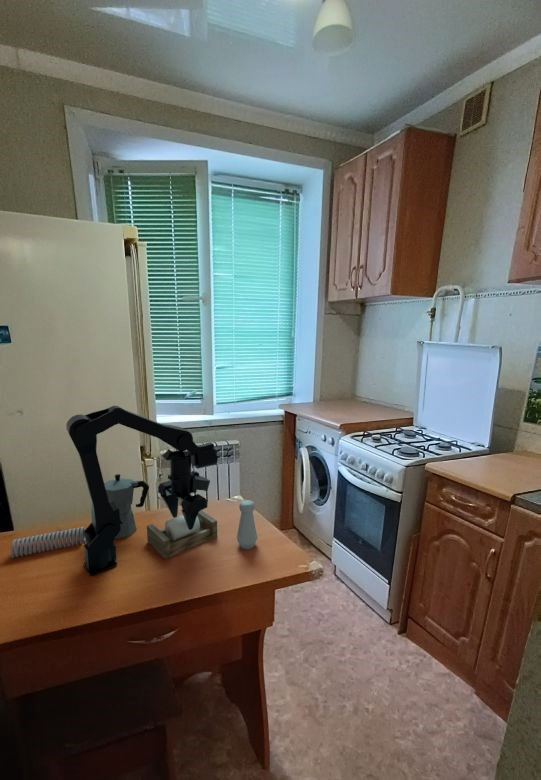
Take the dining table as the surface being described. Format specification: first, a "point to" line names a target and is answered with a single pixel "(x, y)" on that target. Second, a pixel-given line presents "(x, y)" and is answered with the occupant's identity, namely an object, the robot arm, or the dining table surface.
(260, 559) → the dining table surface
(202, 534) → the cradle
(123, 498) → the coffeepot
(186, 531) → the cylinder
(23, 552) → the coil
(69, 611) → the dining table surface
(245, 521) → the salt shaker
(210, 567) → the dining table surface
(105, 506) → the robot arm
